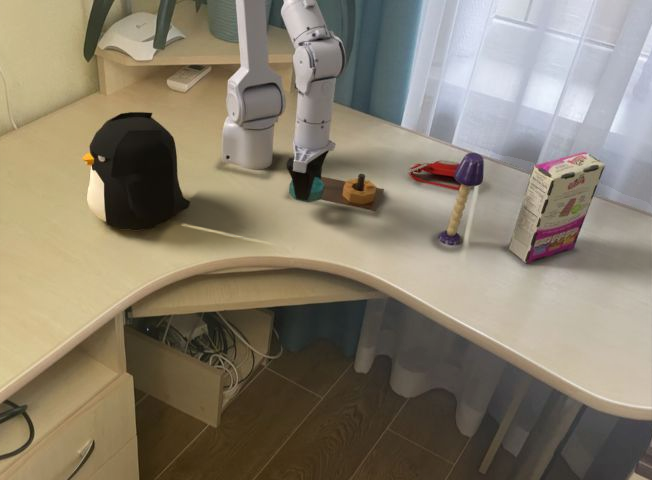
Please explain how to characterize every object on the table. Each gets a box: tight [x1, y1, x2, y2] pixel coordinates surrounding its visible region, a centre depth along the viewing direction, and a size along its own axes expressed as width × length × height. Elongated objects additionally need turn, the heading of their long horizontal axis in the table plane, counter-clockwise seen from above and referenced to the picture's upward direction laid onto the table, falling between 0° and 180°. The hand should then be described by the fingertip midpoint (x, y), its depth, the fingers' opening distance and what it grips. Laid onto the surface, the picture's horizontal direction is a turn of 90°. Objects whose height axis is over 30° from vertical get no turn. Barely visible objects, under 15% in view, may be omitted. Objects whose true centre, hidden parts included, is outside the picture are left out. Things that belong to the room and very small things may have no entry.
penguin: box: [81, 111, 191, 232], centre depth 125 cm, size 18×18×17 cm
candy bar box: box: [507, 151, 606, 264], centre depth 123 cm, size 11×5×16 cm, turn 117°
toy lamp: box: [437, 152, 485, 246], centre depth 123 cm, size 5×5×17 cm
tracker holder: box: [407, 160, 461, 191], centre depth 143 cm, size 12×4×10 cm
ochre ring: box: [343, 177, 378, 204], centre depth 137 cm, size 6×6×2 cm
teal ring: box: [288, 177, 325, 203], centre depth 129 cm, size 6×6×2 cm
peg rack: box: [319, 168, 385, 212], centre depth 137 cm, size 16×8×5 cm, turn 73°
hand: (306, 189), depth 129 cm, fingers closed on teal ring, 6 cm apart
